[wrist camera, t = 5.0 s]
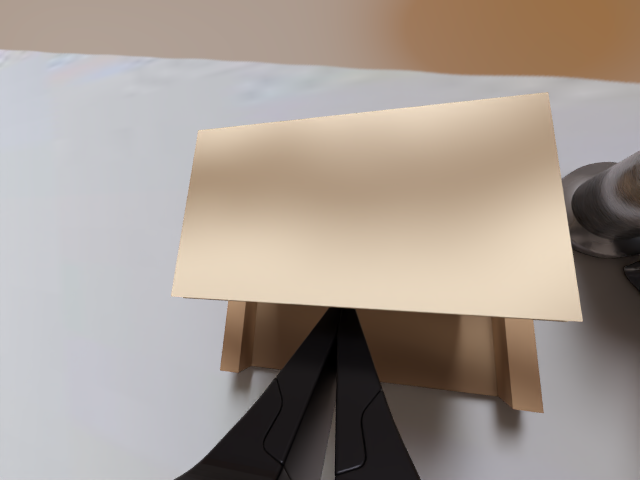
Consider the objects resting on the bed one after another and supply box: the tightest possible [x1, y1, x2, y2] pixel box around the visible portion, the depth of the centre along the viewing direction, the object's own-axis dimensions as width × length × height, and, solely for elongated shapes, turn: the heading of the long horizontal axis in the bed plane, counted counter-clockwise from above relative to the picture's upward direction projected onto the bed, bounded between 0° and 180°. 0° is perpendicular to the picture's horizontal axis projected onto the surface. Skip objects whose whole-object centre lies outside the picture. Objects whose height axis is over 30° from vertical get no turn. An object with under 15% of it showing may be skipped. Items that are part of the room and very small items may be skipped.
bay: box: [220, 301, 544, 413], centre depth 16 cm, size 15×16×3 cm
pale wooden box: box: [171, 92, 583, 322], centre depth 12 cm, size 6×11×9 cm, turn 87°
